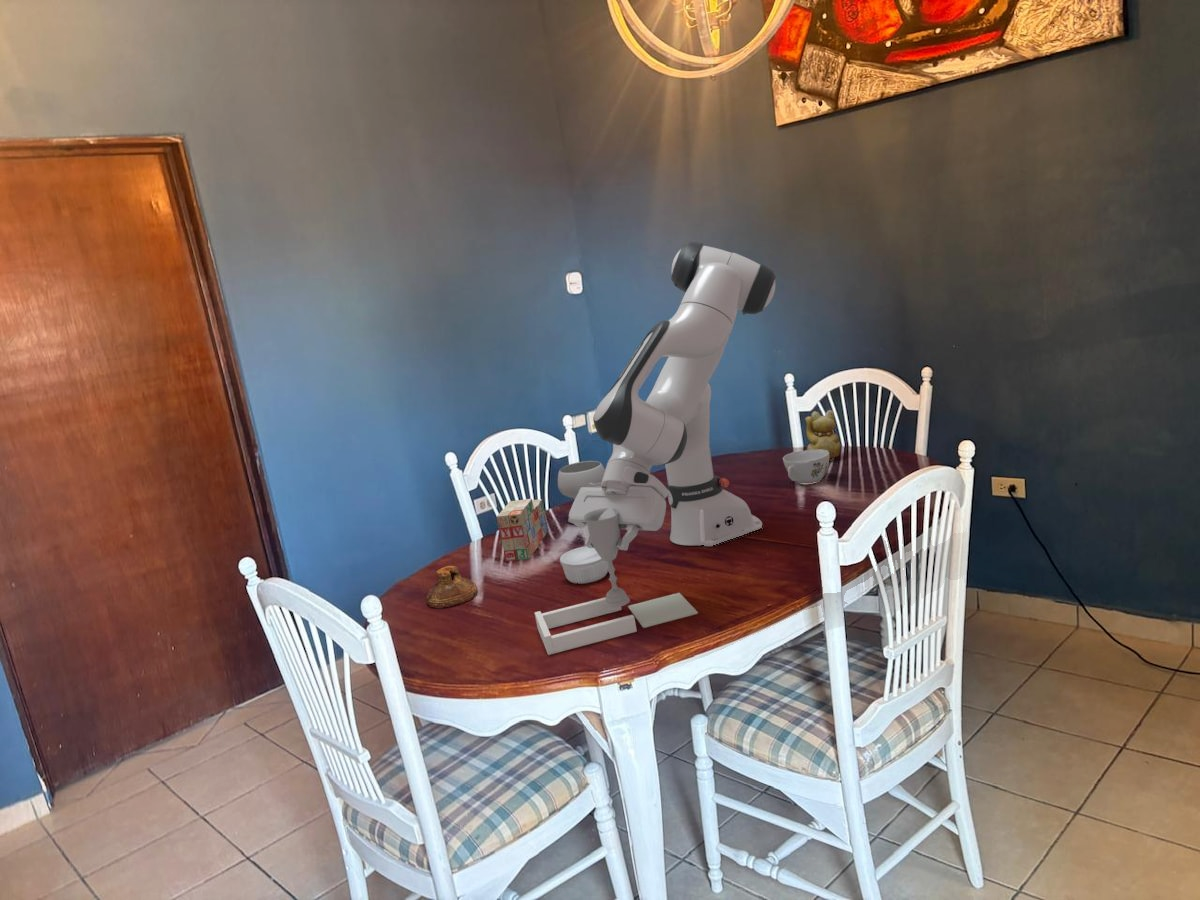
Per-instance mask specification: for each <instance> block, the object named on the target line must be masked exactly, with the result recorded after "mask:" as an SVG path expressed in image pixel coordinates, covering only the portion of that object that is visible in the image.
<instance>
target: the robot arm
mask: <svg viewBox="0 0 1200 900" xmlns="http://www.w3.org/2000/svg"><path fill="white" fill-rule="evenodd" d="M670 272H671V278H670V279H671V281H672V283H673V285H674V287H676V288H677V289H678V290H680V291H681V292H683V293H684V296H683V297H682V300H681V301H680V304H679V306H678V308H677V311H676V312H675V314H674V315H672V317H671V318H670V319H668V320H661V321H658V322H657V323H656V324H655V325H654V326H653V327H652V328H651V329H650V330H648V333H647V334H646V335H645V336H644V338H643V339H642V341H641V342H640V344H638V345H639V346H638V347H637V349H636V350H634V353H633V355H632V356H631V358H630V359H629V361H628V362H627V363H626V365H625V367H624V369H623V370H622V371H621V373H620V375H619V376H618V377H617V380H616V381H615V383H614V384H613V386H612V387H611V388H610V389H609V391H608V392H607V393H606V395H605V396H604V397H603V399H602V400H601V401H600V402H599V404H598V405H597V407H596V410H595V411H594V414H593V420H592V421H593V425H594V428H595V430H596V433H597V435H598V436H599V438H600V440H604V441H606V442H609V443H611V444H612V454H611V456H610V457H609V460H607V463H606V465H605V473H604V476H603V479H602V483H587V485H585V486H583V487H581V488H580V490H579V493H578V495H577V496H576V498H575V499H573V500H574V501H573V503H572V505H571V508H570V509H569V513H568V519H570V521H571V522H572V523H573V525H575V526H576V527H577V528H584V532H585V534H586V535H585V536H586V538H585V541H584V546H587V547H588V548H594V547H593V545H592V543H591V540H590V535H589V530H588V524H587V522H586V520H585V519H584V516H585V515H586V514H587V513H589V512H591V511H594V510H598V509H603V508H608V509H607V510H606V511H605V512H604V513H603V514H602V515H601V516H600V517H599V519H598V520H597V521H599V520H605V519H609V518H611V517H614V516H615V512H614V511H613V509H612V508H614V509H617V510H618V511H619V513H618V517H617V518H618V524H619V529H620V530H626V532H625V534H624V535H623V536H622V538H621V537H620V538H619V539H618V543H617V548H618V551H619V550H620V551H628V549H629V545H630V543H632V541H633V540H634V539H635V538H636V537H637V536H638V533H639V531H652V532H656V531H659V530H660V529H661V527H663V523H664V521H665V517H666V513H667V512H666V510H667V501H666V498H667V499H668V503H669V506H670V513H671V516H670V517H671V519H670V520H671V522H670V524H671V525H670V526H671V527H670V536H669V541H671V542H672V543H674V544H675V545H680V546H701V545H704V546H703V547H714V546H713V545H715V546H717V545H716V544H718V545H720V544H719V543H721V542H724V541H727V540H730V539H733V538H736V537H739V536H742V535H744V534H747V533H749V532H752V531H755V530H758V529H760V528H762V525H763V522H762V521H761V519H760V518H758V517H757V516H755V515H753V514H752V513H751V512H752V511H751V509H750V507H749V505H748V504H747V503H746V501H745V500H743V499H742V498H741V497H739V496H737V495H735V494H734V493H732V492H730V491H727V489H724V488H728V487H729V485H730V481H729V480H728V479H727V478H726V477H721V476H719V475H715V474H714V469H713V463H712V456H711V448H710V429H711V427H710V424H711V423H710V421H711V413H710V412H711V411H710V406H711V400H712V388H711V385H710V383H709V382H710V380H711V378H712V376H714V375H713V374H714V373H715V371H716V370H717V368H718V366H719V364H720V362H721V359H722V356H723V354H724V351H725V348H726V347H727V346H726V345H727V343H728V341H729V339H730V335H731V333H732V330H733V328H734V325H735V322H736V317H737V315H738V314H737V313H738V311H741V312H742V315H746V314H747V315H749V314H750V315H756V314H759V313H762V312H763V310H764V309H765V308H766V307H767V306H768V305H769V304H770V303H771V302H772V299H773V298H774V294H775V291H776V274H775V271H774V270H772V269H771V268H770V267H768V266H767V265H765V264H763V263H761V264H759V263H758V262H756V261H754V260H752V259H750V258H748V257H745V256H743V255H741V254H739V253H736V252H730V251H727V250H724V249H721V248H717V247H713V246H709V245H704V243H702V242H695V241H690V242H688V243H685V244H683V245H682V247H681V248H680V249H679V250H678V252H677V253H676V254H675V256H674V258H673V260H672V264H671V271H670ZM663 357H665V358H666V357H668V358H667V359H666V361H665V362H664V364H663V367H662V368H661V371H660V373H659V375H658V377H657V378H656V381H655V383H654V386H653V387H652V390H651V392H650V393H649V395H648V397H647V399H646V400H643V399H641V398H640V396H639V391H640V389H641V388H642V385H643V384H644V383H645V382H646V381H647V380H646V379H647V378H648V376H649V375H650V374H651V372H652V370H653V369H654V367H655V365H656V364H657V362H658V361H659V360H660V359H661V358H663ZM653 466H657V467H660V466H664V467H665V471H666V479H667V482H666V486H665V485H664V484H663V483H662V482H661V480H659V479H658V478H657V477H656V476H654V474H651V469H652V468H653ZM572 523H571V524H572ZM762 529H763V528H762ZM742 537H743V536H742ZM739 538H740V537H739ZM736 539H737V538H736ZM733 540H734V539H733ZM730 541H731V540H730ZM727 542H728V541H727ZM724 543H725V542H724ZM721 544H722V543H721Z"/></svg>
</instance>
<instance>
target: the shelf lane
mask: <svg viewBox="0 0 1200 900" xmlns="http://www.w3.org/2000/svg"><path fill="white" fill-rule="evenodd" d="M605 599H606V596H605V597H601V598H598V599H593V600H589V601H586V602H585V601H584V602H581V603H578V604H575V605H574V604H573V605H570V606H566V607H562V608H558V609H554V610H550V611H546V612H543V613H542V612H541V610H539V611H535V612H534V616H535V622H536V627H537V630H538V634H539V636H540V639H541V641H542V644H543V646H544V648H545V650H546V653H547V655H548V656H550V655H554V654H558V653H561V652H562V653H563V652H565V651H568V650H572V649H576V648H580V647H583V646H584V647H585V646H587V645H591V644H595V643H599V642H603V641H606V640H610V639H614V638H618V637H621V636H625V635H628V634H629V635H630V634H634V633H636V632H638V631H637V625H636V620H635V619H636V617H635V616H634V615H633V614H630V615H625V616H620V617H617V618H614V619H611V620H606V621H602V622H599V623H598V622H597V623H595V624H591V625H586V626H583V627H580V628H575V629H573V630H572V629H571V630H568V631H564V632H560V633H557V634H553V635H552V634H551V633H550V629H553V628H557V627H561V626H562V627H563V626H566V625H569V624H573V623H577V622H581V621H584V620H588V619H592V618H596V617H599V616H603V615H604V616H605V615H607V614H608V615H609V614H611V613H616V612H619V611H620V612H621V611H623V610H622V606H621V607H616V608H610V607H606V606H605V605H604V604H605V601H606V600H605Z"/></svg>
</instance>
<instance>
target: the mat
mask: <svg viewBox="0 0 1200 900" xmlns="http://www.w3.org/2000/svg"><path fill="white" fill-rule="evenodd" d="M627 608H628V610H630V611H631V613H632V615H633V616H634V618H635V619H636V621H638V623H639V624H640V625H641V627H642V628H643V629H645V628H649V627H653V626H658V625H660V624H663V623H668V622H672V621H675V620H678V619H679V620H680V619H683V618H686V617H687V618H688V617H691V616H695V615H698V614H699V612H698V611H697V610H696V608H695V607H693V605H692V604H691V603H690V602H689V601H688V600H687V599H686V598H685V597H684V596H683V595H682V594H681V593H680V592H677V593H672V594H669V595H665V596H661V597H656V598H653V599H650V600H645V601H642V602H638V603H634V604H630V605H627Z"/></svg>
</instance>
